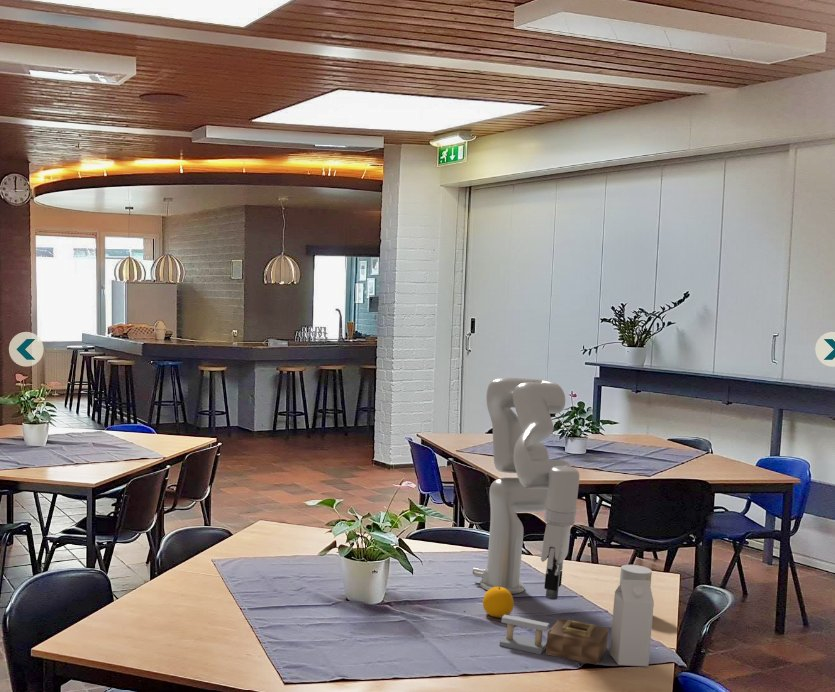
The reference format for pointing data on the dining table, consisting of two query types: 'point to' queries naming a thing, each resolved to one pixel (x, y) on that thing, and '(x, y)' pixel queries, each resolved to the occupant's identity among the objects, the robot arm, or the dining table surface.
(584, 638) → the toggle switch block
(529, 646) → the peg rack
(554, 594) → the pin
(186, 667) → the dining table surface
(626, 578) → the light grey cylinder
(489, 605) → the orange fruit
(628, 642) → the milk carton
